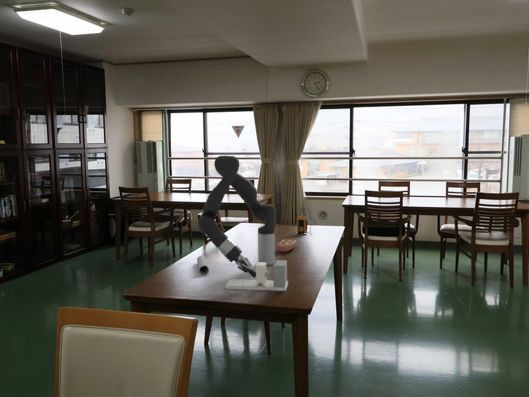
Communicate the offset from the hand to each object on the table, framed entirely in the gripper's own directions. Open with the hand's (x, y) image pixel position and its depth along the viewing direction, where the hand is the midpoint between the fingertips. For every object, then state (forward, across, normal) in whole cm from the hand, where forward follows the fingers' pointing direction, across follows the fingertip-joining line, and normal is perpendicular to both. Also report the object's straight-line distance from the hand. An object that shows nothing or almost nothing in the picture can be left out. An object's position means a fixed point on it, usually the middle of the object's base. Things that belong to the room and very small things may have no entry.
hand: (255, 276), depth 207 cm
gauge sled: (+4, -1, 0) cm, 4 cm away
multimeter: (+13, +132, -6) cm, 133 cm away
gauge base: (+4, 0, +3) cm, 5 cm away
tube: (-20, +27, +28) cm, 44 cm away
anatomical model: (+8, +77, -1) cm, 78 cm away
